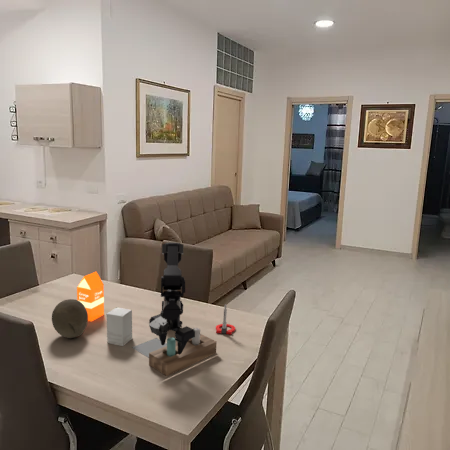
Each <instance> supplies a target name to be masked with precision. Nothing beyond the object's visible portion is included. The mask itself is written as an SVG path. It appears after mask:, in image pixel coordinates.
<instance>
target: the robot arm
mask: <svg viewBox="0 0 450 450" xmlns="http://www.w3.org/2000/svg"><path fill="white" fill-rule="evenodd" d="M161 254H162V255H163V261H164V262H165V263H166V267H165V268H164V269H163V276H161V278H160V279H161V280H160V281H161V282H160V297H161V298H163V300H162V301H161V311H160V314H156V315H153V316H151V317H150V318H149V322H148V325H149V326H148V327H149V329H150V332H151V333H152V334H155V335H156V336H158V339H160V341H161V344H162V345H164V344H165V343H166V342H167V336H168V332H169V331H173V332H174V333H175V334H174V338H175V340H176V342H178V354H179V355H180V354H181V353H182V351H183V349H184V348H185V346H186V344H187V342H188V341H189V339H191V338H194V337H195V330H194V329H193V328H191V327H189V326H187V325H186V326H183V320H181V315H183V313H184V304H183V301H182V300H181V298H183V297H185V296H184V294H185V293H186V279H185V277H184V276H182V274H183V273H182V270H181V269H180V267H179V263H180V262H181V261H182V255H184V244H183V243H181V242H174V241H173V242H171V241H170V242H165V243H162V244H161ZM182 326H183V327H182Z"/></svg>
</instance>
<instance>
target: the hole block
mask: <svg viewBox="0 0 450 450" xmlns="http://www.w3.org/2000/svg"><path fill="white" fill-rule="evenodd" d="M215 354H217V341H216V340H214V339H212V338H210V337H207V336H205V335H204V334H202V333H200V344H199V345H197V346H195V345H193V344H192V338H191V339H189V341H188V342H187V344H186V346H185V348H184V349H183V351H182V353H181V354H180V355H179V354H178V342H177V341H176V347H175V355H174V356H172V357H170V356H168V355H167V346H165V347H163V348H160V349H158V350H155V351H153V352H150V353H149V358H148V365H149V366H150V367H152V368H153V369H154V370H156V371H158V372H159V373H161V374H163V375H164V376H166V377H168V376H170V375H173V374H175V373H177V372H178V371H181V370H183V369H185V368H187V367H189V366H192V365H194V364H196V363H198V362H199V361H200V362H201V361H202V360H204V359H206V358H208V357H210V356H212V355H215Z"/></svg>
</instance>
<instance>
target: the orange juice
mask: <svg viewBox="0 0 450 450" xmlns="http://www.w3.org/2000/svg"><path fill="white" fill-rule="evenodd" d="M104 288H105V287H104V283H103V281H102V279H101V277H100V274H98V272H97V271H93V272H92V273H89V274H85V275H84V276H83V278H82V279H81V280H80V282H79V283H78V285H77V287H76V300H78V301H80V302H81V303H82V304H83V305H84V306H85V308H86V310H87V313H88V322H93V321H95V320H97V319H99V318H101V317H102V316H104V315H105V296H104V295H105V294H104V290H105V289H104Z"/></svg>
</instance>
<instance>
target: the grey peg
mask: <svg viewBox="0 0 450 450" xmlns="http://www.w3.org/2000/svg"><path fill="white" fill-rule="evenodd" d="M192 329H194V330H195V337H194V338H192V344H193V345H195V346H197V345H199V344H200V334H201V328H199V327H193V328H192Z"/></svg>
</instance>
